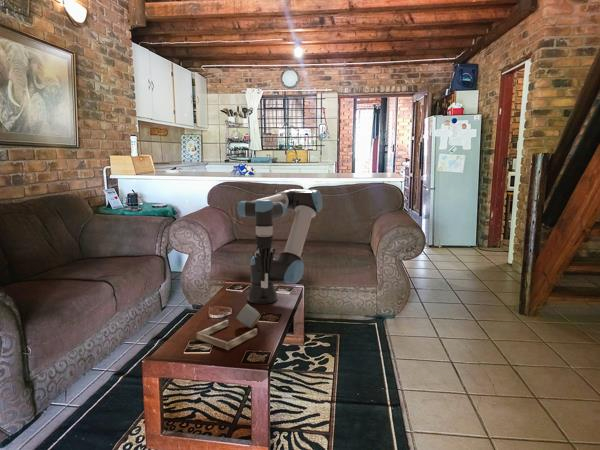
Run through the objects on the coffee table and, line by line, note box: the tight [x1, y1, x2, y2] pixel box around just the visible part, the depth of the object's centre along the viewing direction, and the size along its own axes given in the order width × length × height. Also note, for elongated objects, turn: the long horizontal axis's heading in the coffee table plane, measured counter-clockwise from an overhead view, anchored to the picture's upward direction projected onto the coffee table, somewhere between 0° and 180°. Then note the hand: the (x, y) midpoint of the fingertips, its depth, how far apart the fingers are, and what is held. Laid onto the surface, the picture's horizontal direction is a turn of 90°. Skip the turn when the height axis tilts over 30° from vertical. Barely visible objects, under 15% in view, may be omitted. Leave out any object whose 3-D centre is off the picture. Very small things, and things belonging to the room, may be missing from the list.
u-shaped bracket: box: [196, 319, 258, 351], centre depth 167 cm, size 17×17×2 cm
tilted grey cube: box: [236, 303, 262, 329], centre depth 177 cm, size 11×8×8 cm
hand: (264, 287), depth 184 cm, fingers closed
